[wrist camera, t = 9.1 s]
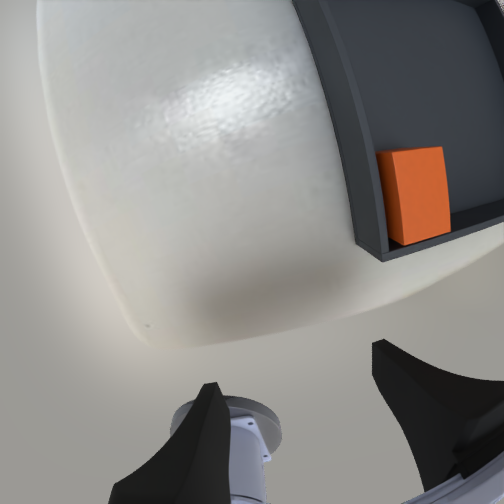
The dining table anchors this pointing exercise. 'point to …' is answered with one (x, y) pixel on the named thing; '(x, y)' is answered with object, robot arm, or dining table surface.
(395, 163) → the orange block
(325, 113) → the dining table surface
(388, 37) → the bin
